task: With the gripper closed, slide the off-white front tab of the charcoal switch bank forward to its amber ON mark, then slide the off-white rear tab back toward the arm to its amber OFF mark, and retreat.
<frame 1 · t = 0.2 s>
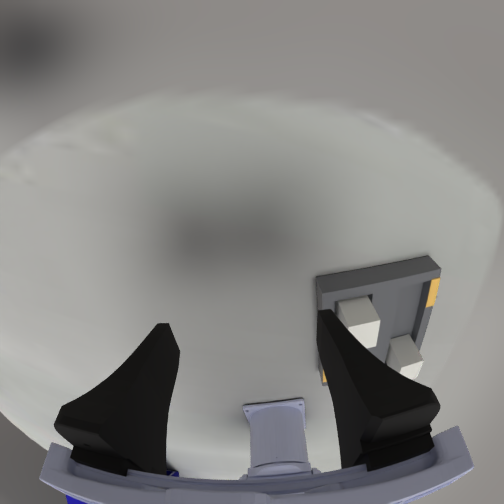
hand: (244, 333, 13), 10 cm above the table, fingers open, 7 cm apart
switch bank: (372, 320, 26), on the table
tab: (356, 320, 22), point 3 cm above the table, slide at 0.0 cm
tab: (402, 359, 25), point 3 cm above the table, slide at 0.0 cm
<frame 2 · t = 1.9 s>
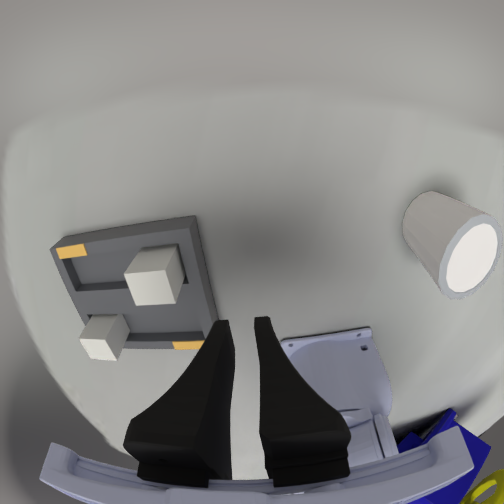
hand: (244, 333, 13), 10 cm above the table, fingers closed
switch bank: (139, 285, 24), on the table
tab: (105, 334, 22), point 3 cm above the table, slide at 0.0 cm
blue valve with handwheel: (413, 431, 43), on the table
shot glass: (426, 220, 21), on the table
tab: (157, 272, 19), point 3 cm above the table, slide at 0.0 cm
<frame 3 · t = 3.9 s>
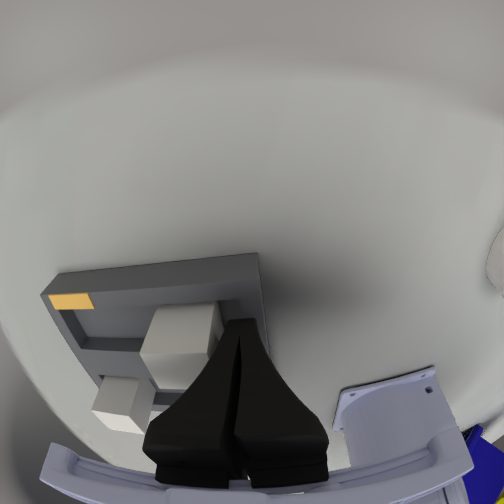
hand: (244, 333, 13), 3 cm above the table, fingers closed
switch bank: (168, 339, 17), on the table
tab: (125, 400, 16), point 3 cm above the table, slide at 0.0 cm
blue valve with handwheel: (439, 448, 37), on the table
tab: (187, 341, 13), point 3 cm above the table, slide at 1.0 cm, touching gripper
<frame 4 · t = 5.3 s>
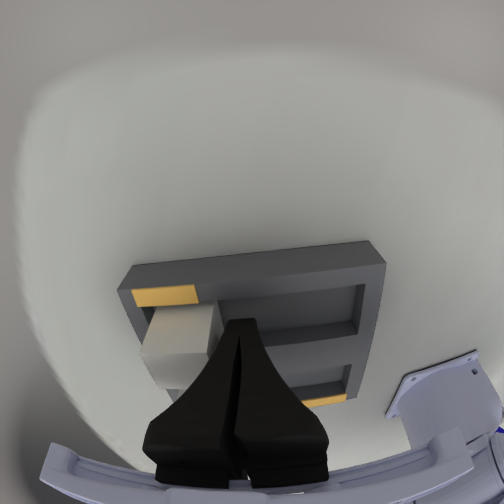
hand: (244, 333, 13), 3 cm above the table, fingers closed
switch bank: (258, 333, 17), on the table
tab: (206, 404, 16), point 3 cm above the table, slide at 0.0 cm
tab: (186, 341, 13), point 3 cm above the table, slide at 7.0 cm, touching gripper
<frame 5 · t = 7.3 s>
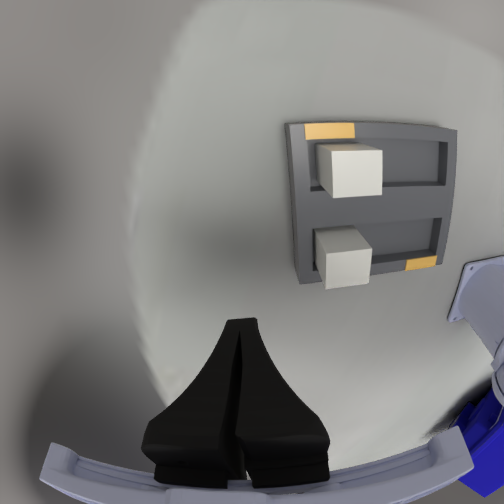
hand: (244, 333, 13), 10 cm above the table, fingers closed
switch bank: (372, 194, 20), on the table
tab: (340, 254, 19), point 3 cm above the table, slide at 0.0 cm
blue valve with handwheel: (489, 389, 40), on the table
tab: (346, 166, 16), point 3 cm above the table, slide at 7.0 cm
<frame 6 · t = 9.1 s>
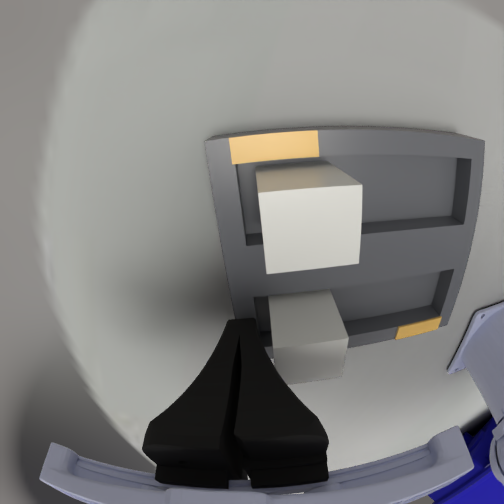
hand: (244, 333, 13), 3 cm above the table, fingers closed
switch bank: (354, 236, 14), on the table
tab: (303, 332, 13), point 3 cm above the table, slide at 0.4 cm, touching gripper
blue valve with handwheel: (488, 417, 34), on the table
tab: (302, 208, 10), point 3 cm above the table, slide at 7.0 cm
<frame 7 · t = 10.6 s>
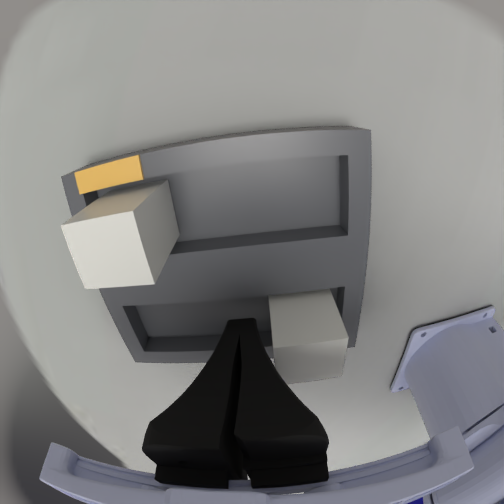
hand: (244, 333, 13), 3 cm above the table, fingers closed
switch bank: (226, 250, 14), on the table
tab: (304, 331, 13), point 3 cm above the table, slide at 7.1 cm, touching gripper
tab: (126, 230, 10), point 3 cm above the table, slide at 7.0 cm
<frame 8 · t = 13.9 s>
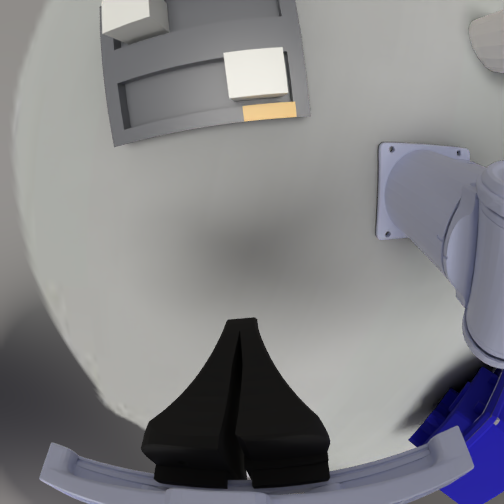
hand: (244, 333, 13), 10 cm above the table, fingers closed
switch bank: (201, 51, 15), on the table
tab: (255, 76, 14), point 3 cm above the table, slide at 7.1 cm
blue valve with handwheel: (477, 373, 34), on the table
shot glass: (486, 45, 12), on the table
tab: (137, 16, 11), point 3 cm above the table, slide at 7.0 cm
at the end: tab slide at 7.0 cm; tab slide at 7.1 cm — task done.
